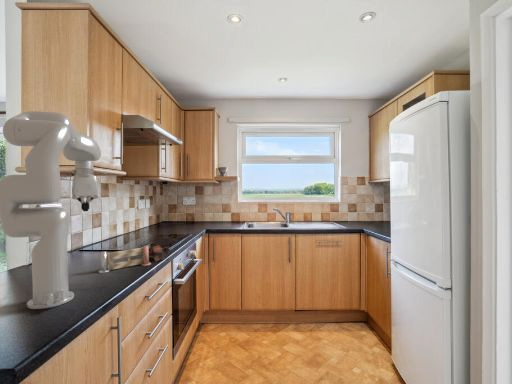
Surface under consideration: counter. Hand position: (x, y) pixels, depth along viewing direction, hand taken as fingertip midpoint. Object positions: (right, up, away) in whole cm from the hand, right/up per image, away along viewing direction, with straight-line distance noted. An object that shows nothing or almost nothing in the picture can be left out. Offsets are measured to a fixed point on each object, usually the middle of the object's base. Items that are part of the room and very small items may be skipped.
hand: (85, 211), depth 131 cm
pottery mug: (+30, -27, +14) cm, 42 cm away
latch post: (+28, -27, +4) cm, 39 cm away
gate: (+21, -26, 0) cm, 33 cm away
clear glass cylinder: (+13, -27, -7) cm, 31 cm away
